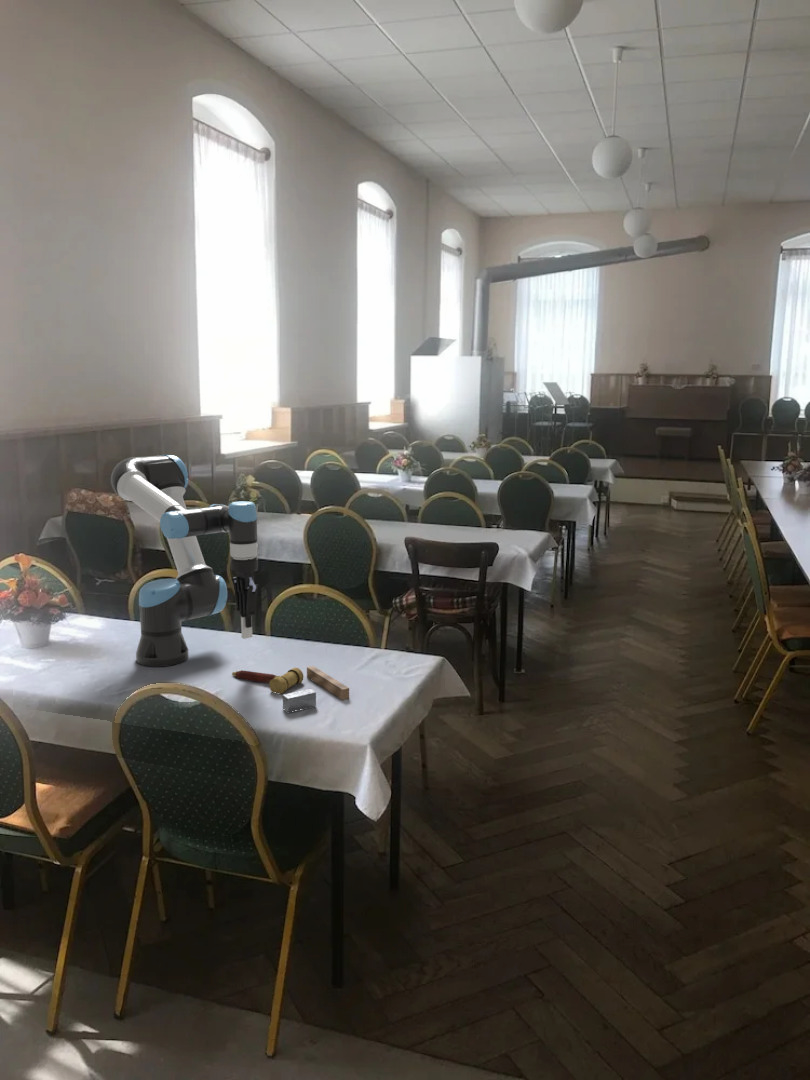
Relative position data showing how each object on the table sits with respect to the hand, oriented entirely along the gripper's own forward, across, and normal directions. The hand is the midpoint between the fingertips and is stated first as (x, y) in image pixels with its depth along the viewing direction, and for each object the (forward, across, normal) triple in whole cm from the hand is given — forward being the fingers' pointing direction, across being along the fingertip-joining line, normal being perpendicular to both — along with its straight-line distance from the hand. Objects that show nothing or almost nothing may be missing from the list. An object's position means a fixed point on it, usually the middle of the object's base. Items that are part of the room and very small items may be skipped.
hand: (247, 637), depth 244 cm
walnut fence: (+11, -24, -13) cm, 29 cm away
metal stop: (+11, -32, 0) cm, 34 cm away
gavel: (+11, -10, 0) cm, 15 cm away
